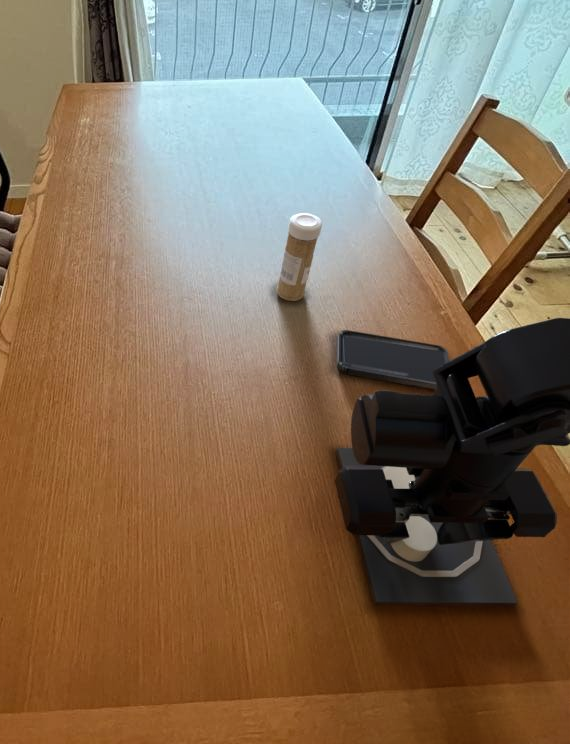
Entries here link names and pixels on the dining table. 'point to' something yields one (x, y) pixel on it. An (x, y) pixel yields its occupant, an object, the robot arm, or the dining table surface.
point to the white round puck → (398, 477)
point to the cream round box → (416, 540)
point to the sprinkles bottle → (298, 255)
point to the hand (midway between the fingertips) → (411, 539)
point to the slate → (433, 570)
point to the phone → (389, 358)
